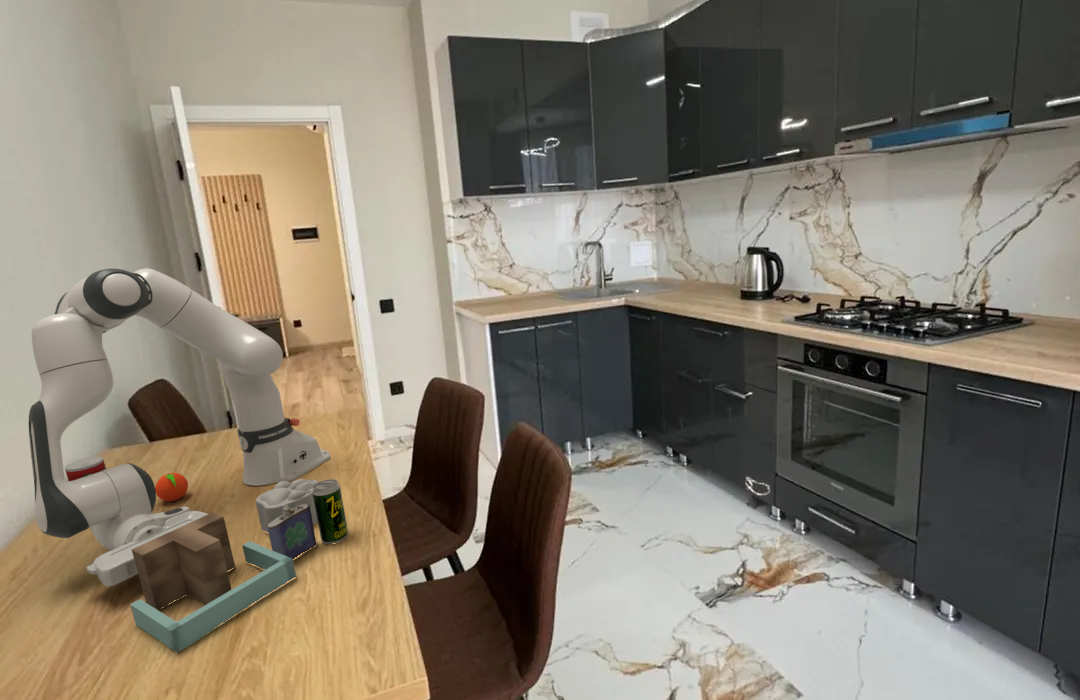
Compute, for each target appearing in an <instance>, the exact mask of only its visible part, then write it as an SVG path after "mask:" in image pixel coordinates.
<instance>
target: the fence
mask: <svg viewBox="0 0 1080 700" xmlns="http://www.w3.org/2000/svg"><path fill="white" fill-rule="evenodd" d="M241 547H242V551H243V556H244V560H245V563H246V562H248V563H251V564H254V565H256V566H258V567H260V568H262V569H265V570H264V571H261V572H259V573H258V574H256V575H254V576H253V577H251V578H249V579H247V580H245V581H244V582H243V583H240V584H239V585H237V586H235V587H234V588H231V589H232V590H230V591H229V592H227V593H225V594H223V595H222V596H220V597H218V598H217V599H215V600H213V601H212V602H210V603H208V604H206V605H203V606H201V607H200V608H197V610H195V611H193V612H191V613H190V614H188V615H186V616H184V617H183V618H181V619H179V620H176V621H175V620H174V619H172V617H170V616H168V615H166V614H164V613H163V612H162V611H161V610H160V611H158V610H157V609H155V608H153V607H152V606H150V605H149V604H147V603H146V601H145V600H144V601H143V600H142V599H140V598H139V599H138V600H136V601H133V602H132V603H130V604H129V605H130V609H131V612H132V616H133V619H134V623H135V625H136V627H138V628H140V629H141V630H142V629H143V630H142V631H144V632H145V631H146V633H147V634H148V633H149V634H148V635H150V636H151V635H152V636H151V637H153V638H154V637H155V638H154V639H156V640H157V641H159V642H160V641H161V642H162V644H163V643H164V644H165V645H164V644H163V645H164V646H166V647H168V648H169V649H170V648H171V649H170V650H172V651H173V650H174V652H175V651H176V652H178V653H180V652H182V651H183V650H184V649H186V648H188V647H189V646H192V645H193V644H194V643H196V642H197V641H199V640H201V639H202V638H204V637H205V636H207V635H208V634H207V633H208V632H210V631H212V630H213V629H214V628H215V627H217V626H218V625H220V624H221V623H223V622H225V621H226V620H228V619H229V618H231V617H232V616H234V615H235V614H237V613H239V612H240V611H242V610H243V609H245V608H247V607H248V606H249V605H251V604H252V603H254V602H255V601H257V600H259V599H260V598H262V597H263V596H265V595H267V594H268V593H270V592H272V591H273V590H275V589H277V588H278V587H280V586H281V585H283V584H285V583H286V582H287V581H289V580H291V579H292V578H294V577H296V578H297V574H296V569H295V565H294V561H293V559H292V558H289V557H287V556H285V555H282V554H280V553H277V552H275V551H273V550H272V549H269V548H268V547H265V546H263V545H260V544H258V543H255V542H253V541H251V540H249V541H247V542H245V543H243V544H242V546H241ZM213 631H214V630H213ZM213 631H212V632H213ZM210 633H211V632H210ZM206 634H207V635H206ZM204 635H205V636H204ZM203 636H204V637H203ZM201 637H202V638H201ZM200 638H201V639H200ZM198 639H199V640H198ZM161 642H160V643H161ZM181 650H182V651H181ZM179 651H180V652H179ZM176 652H175V653H176Z"/></svg>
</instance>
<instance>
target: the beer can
mask: <svg viewBox="0 0 1080 700" xmlns="http://www.w3.org/2000/svg"><path fill="white" fill-rule="evenodd" d="M312 488H313V491H312V495H313V500H314V505H315V510H316V515H317V521H318V523H317V525H318V531H319V536H320V540H321V542H324V543H323V544H325V543H326V544H325V545H328V544H331V545H333V544H332V543H336V544H338V543H337V542H339V541H341V542H343V541H344V540H343V539H345V538H346V539H347V537H348V534H349V528H348V522H347V518H346V512H345V505H344V501H343V495H342V490H341V485H340V484H339V481H338V479H337V480H336V479H329V478H328V479H324V480H320V481H319V482H318V483H316V484H315V485H314V486H313V487H312ZM346 539H345V540H346ZM342 540H343V541H342ZM339 543H340V542H339Z"/></svg>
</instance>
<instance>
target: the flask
mask: <svg viewBox="0 0 1080 700" xmlns="http://www.w3.org/2000/svg"><path fill="white" fill-rule="evenodd" d="M284 506H286V505H283V506H282V507H284ZM280 509H282V508H280ZM267 527H268V532H269V534H268V535H269V541H270V546H271V548H272V549H271V550H272V551H275V552H277V553H280V554H282V555H285V556H287V557H289V558H292V559H294V558H295V557H297V556H298V555H300V554H301V553H303V552H305V551H307V550H309V549H310V548H312V549H314V548H315V547H314V546H315V545H316V544H317V540H316V535H315V528H314V525H313V523H312V516H311V511H310V505H307V504H302V505H298V506H296V507H295V508H293V509H291V508H289V506H288V505H287V506H286V507H284V508H283V515H281V516H279V517H278V518H276V519H275V520H273V521H272V522H271V523H269V524H268V525H267ZM316 546H317V545H316ZM313 547H314V548H313ZM309 551H310V550H309ZM307 552H308V551H307Z"/></svg>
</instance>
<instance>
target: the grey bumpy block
mask: <svg viewBox="0 0 1080 700" xmlns="http://www.w3.org/2000/svg"><path fill="white" fill-rule="evenodd" d="M318 482H320V481H319V480H316V479H305V478H299V479H298V478H297V479H295V480H292V481H281V482H277V483H276V484H275V485H274V487H273V489H269V490H267V491H265V492H263V493H261V494H260V495H258V496H257V497H256V499H255V505H256V509H257V514H258V519H259V520H258V521H259V523H260V528H261V531H262V530H263V531H266V532H268V527H267V525H268V524H269V523H271V522H272V521H273V520H275V519H276V518H278V517H279V516H281V515H283V508H284V507H286V506H287V505H288V506H289V508H291V509H293V508H295V507H296V506H298V505H302V504H307V505H310V511H311V516H312V523H313V524H315V523H316V524H318V523H317V522H318V521H317V515H316V510H315V505H314V500H313V495H312V491H313V488H312V487H313V486H314V485H315V484H316V483H318ZM283 505H286V506H284V507H282V506H283ZM280 508H282V509H280ZM316 524H315V525H316ZM263 531H262V532H263ZM268 533H269V532H268Z"/></svg>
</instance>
